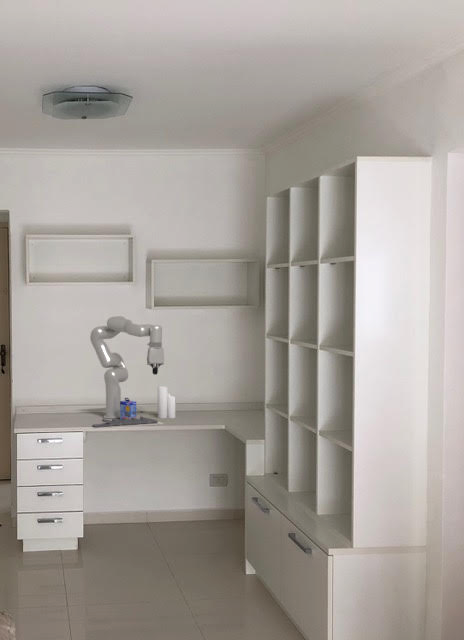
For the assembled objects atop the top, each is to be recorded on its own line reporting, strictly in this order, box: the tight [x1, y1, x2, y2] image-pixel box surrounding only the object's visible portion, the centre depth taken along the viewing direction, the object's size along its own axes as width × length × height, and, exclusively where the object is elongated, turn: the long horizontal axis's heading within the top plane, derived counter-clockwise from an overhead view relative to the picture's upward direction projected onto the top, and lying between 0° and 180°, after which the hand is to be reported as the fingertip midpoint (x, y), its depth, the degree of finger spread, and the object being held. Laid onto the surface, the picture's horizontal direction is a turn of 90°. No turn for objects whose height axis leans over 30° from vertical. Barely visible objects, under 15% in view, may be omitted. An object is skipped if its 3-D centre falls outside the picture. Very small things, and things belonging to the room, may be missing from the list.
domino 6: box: [139, 415, 159, 423], centre depth 582 cm, size 2×5×10 cm
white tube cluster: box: [157, 385, 176, 419], centre depth 608 cm, size 11×7×20 cm, turn 96°
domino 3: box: [111, 418, 130, 425], centre depth 574 cm, size 2×5×10 cm
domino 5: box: [131, 417, 149, 424], centre depth 579 cm, size 2×5×10 cm
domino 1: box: [91, 422, 111, 429], centre depth 569 cm, size 2×5×10 cm
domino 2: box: [101, 418, 121, 426], centre depth 571 cm, size 2×5×10 cm
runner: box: [109, 420, 165, 428], centre depth 578 cm, size 12×35×1 cm, turn 116°
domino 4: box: [121, 418, 140, 425], centre depth 577 cm, size 2×5×10 cm
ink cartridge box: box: [119, 397, 138, 420], centre depth 597 cm, size 10×6×14 cm, turn 51°
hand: (155, 374), depth 593 cm, fingers closed
